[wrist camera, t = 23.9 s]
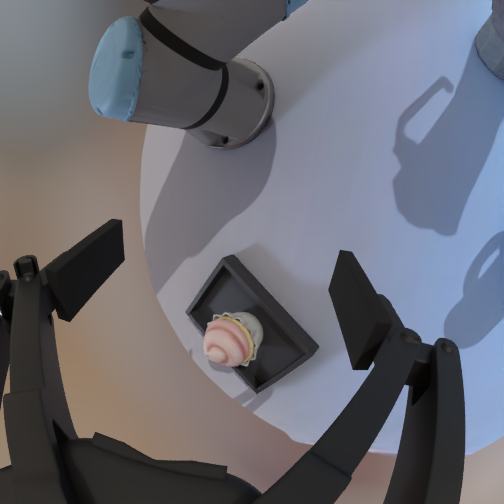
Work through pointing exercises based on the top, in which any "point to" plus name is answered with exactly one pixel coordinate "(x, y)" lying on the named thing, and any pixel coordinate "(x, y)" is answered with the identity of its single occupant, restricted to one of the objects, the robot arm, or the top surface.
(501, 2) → the moka pot
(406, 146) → the top surface
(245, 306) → the baking tray
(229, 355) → the cupcake
